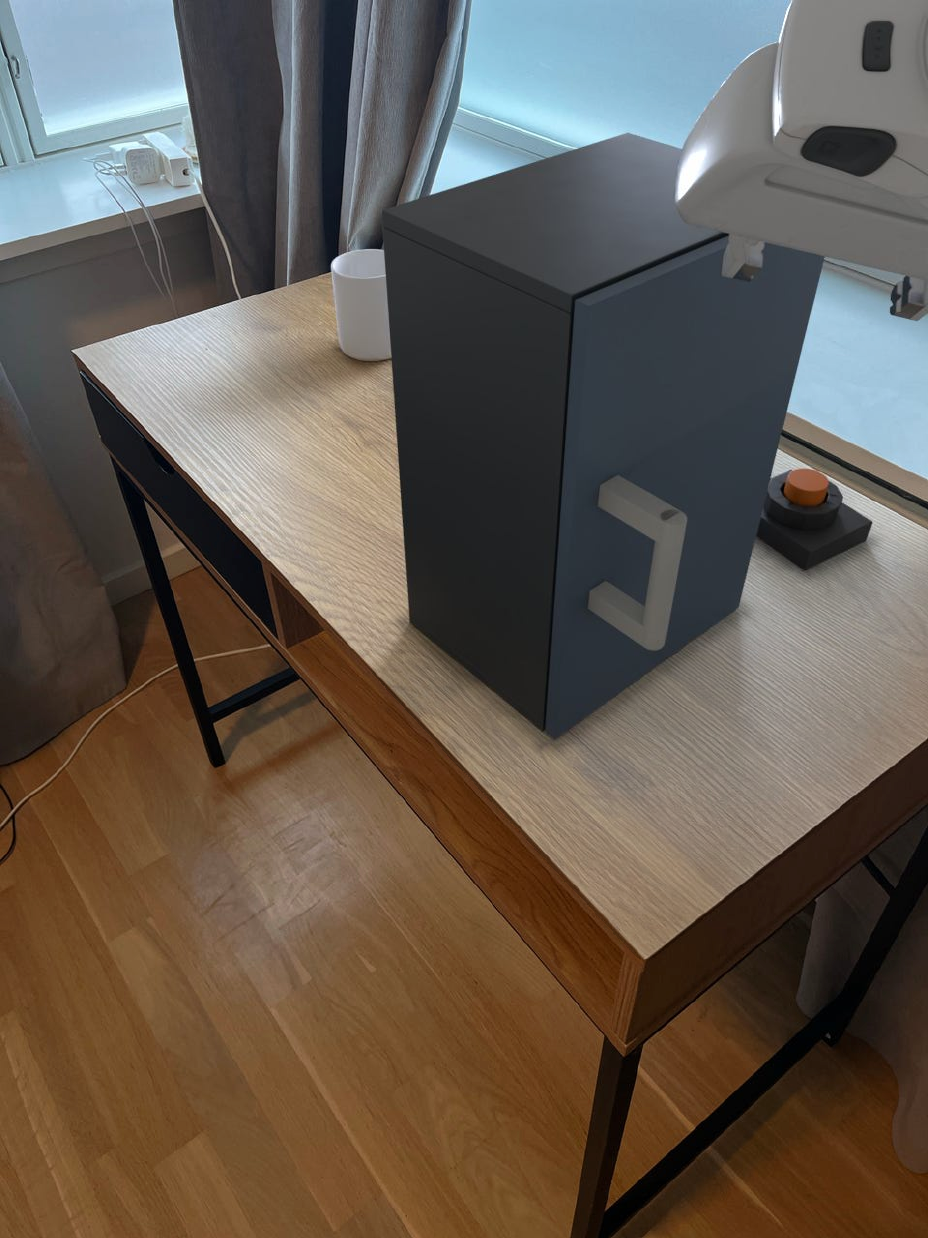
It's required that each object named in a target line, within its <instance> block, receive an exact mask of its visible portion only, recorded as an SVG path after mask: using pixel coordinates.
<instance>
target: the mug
mask: <svg viewBox="0 0 928 1238" xmlns="http://www.w3.org/2000/svg"><path fill="white" fill-rule="evenodd" d="M330 272H331V280H332V289H333V299H334V308H335V309H334V310H335V317H336V326H337V337H338V343H339V347H340V349H341V350H342V352H343V353H344V354H345V355H346V356H348V357H349V358H352V359H355V360H357V361H364V362H379V361H385V360H386V361H387V360H389V359H391V346H390V331H389V317H388V302H387V288H386V273H385V259H384V249H377V248H366V249H356V250H351V251H348V252H345V253H342V254H340V255H338V256H336V257H335V258H334V259H332V261H331V263H330Z"/></svg>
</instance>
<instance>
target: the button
mask: <svg viewBox="0 0 928 1238" xmlns="http://www.w3.org/2000/svg"><path fill="white" fill-rule="evenodd" d="M792 470H793V471H791V472H790V473H789V474H788V476H787V480H786V484H785V488H784V496H785V498H786V499H788V500H789V501H791V502H792V503H796V504H799V505H803V506H817V505H820V504H821V503H822V502H823V501H824V499H825V495H826V492H827V488H828V485H829V481H830V480H829V479H828V477H827V476H826V475H825V474H823V472H821V471H819V470H815V469H811V468H796V469H792ZM828 480H829V481H828Z"/></svg>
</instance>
